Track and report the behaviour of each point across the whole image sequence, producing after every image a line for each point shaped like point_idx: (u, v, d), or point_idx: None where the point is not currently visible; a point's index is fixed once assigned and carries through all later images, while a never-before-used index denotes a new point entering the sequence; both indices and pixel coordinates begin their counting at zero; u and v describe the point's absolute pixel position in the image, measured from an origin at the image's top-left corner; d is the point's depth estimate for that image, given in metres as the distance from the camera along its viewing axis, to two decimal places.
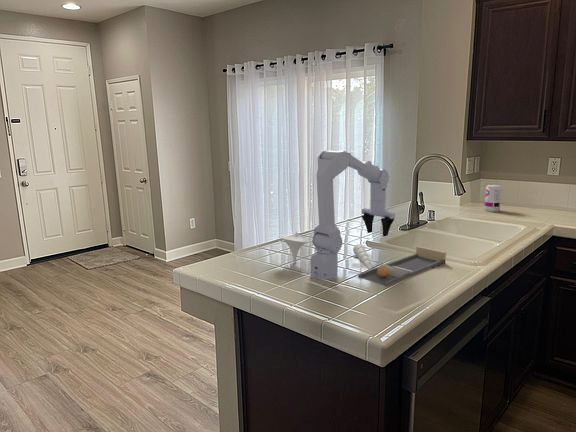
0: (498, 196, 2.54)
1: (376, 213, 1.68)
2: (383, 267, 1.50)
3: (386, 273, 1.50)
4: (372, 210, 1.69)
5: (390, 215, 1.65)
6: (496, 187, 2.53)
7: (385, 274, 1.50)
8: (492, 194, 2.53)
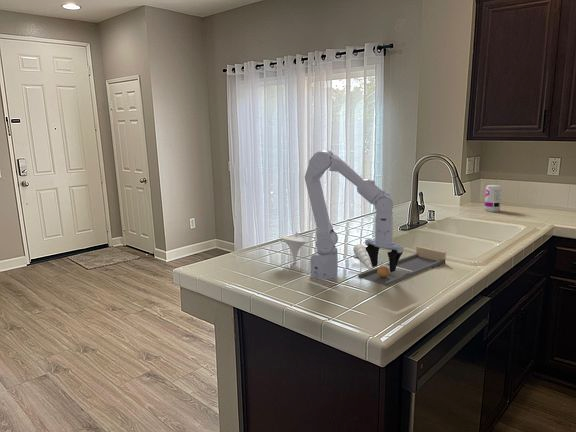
0: (498, 196, 2.54)
1: (382, 246, 1.47)
2: (383, 267, 1.50)
3: (386, 273, 1.50)
4: (377, 242, 1.48)
5: (398, 249, 1.44)
6: (496, 187, 2.53)
7: (385, 274, 1.50)
8: (492, 194, 2.53)
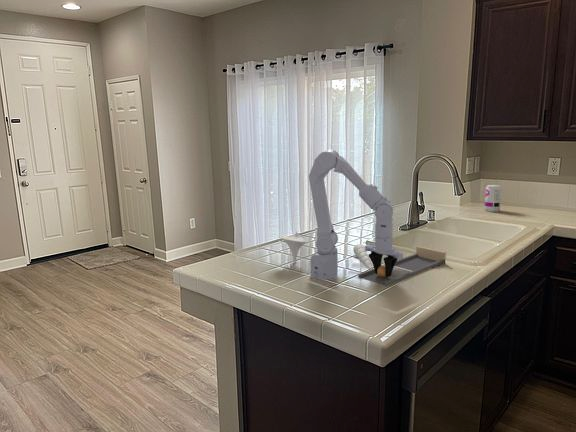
0: (498, 196, 2.54)
1: (382, 252, 1.47)
2: (383, 267, 1.50)
3: None
4: (377, 248, 1.48)
5: (398, 255, 1.44)
6: (496, 187, 2.53)
7: (385, 274, 1.50)
8: (492, 194, 2.53)
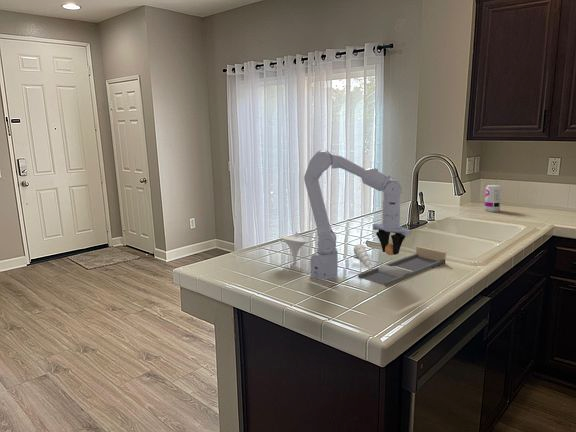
0: (498, 196, 2.54)
1: (389, 229, 1.48)
2: (390, 245, 1.51)
3: None
4: (385, 226, 1.49)
5: (405, 232, 1.45)
6: (496, 187, 2.53)
7: None
8: (492, 194, 2.53)
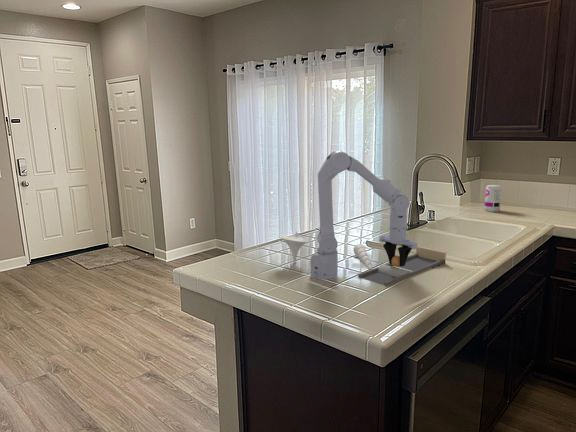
0: (498, 196, 2.54)
1: (396, 242, 1.52)
2: (397, 257, 1.55)
3: None
4: (392, 238, 1.53)
5: (412, 245, 1.49)
6: (496, 187, 2.53)
7: (399, 263, 1.54)
8: (492, 194, 2.53)
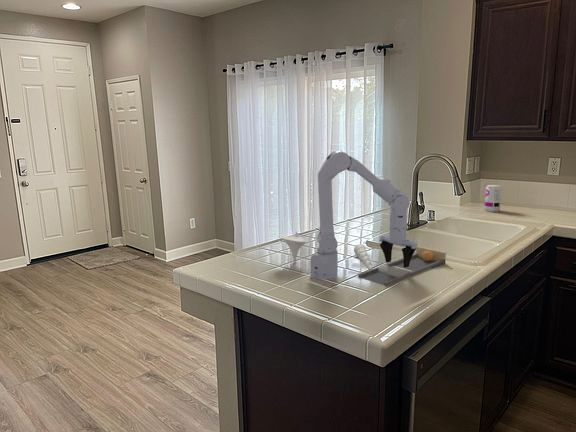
0: (498, 196, 2.54)
1: (396, 242, 1.52)
2: None
3: (432, 257, 1.66)
4: (392, 238, 1.53)
5: (412, 245, 1.49)
6: (496, 187, 2.53)
7: None
8: (492, 194, 2.53)
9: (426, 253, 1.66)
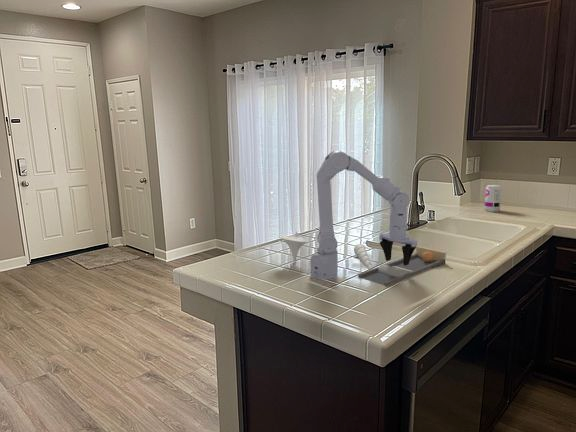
0: (498, 196, 2.54)
1: (396, 240, 1.51)
2: None
3: (432, 258, 1.65)
4: (392, 236, 1.53)
5: (412, 243, 1.49)
6: (496, 187, 2.53)
7: (432, 256, 1.65)
8: (492, 194, 2.53)
9: (425, 256, 1.65)
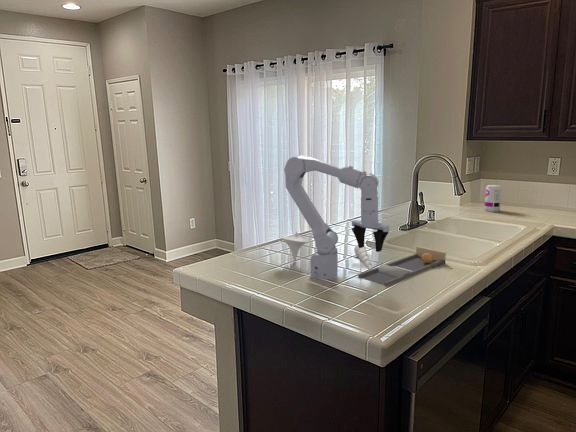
0: (498, 196, 2.54)
1: (368, 226, 1.46)
2: None
3: (432, 259, 1.64)
4: (363, 222, 1.47)
5: (383, 228, 1.43)
6: (496, 187, 2.53)
7: (432, 258, 1.64)
8: (492, 194, 2.53)
9: (425, 261, 1.63)
